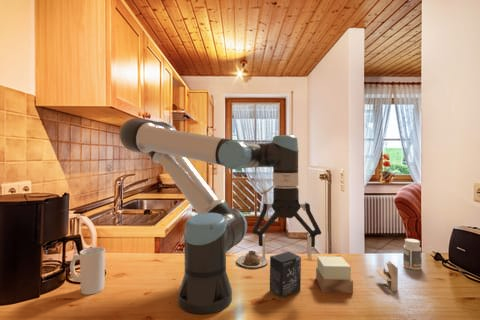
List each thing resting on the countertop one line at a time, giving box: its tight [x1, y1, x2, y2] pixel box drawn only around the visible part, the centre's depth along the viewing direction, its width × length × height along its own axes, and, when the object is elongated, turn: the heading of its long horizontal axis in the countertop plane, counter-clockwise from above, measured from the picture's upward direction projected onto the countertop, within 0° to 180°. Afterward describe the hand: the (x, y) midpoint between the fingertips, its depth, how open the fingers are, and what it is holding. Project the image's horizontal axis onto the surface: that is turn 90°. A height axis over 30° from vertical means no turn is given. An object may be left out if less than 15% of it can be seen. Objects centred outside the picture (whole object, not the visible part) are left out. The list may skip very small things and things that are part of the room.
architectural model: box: [376, 260, 399, 292], centre depth 85 cm, size 3×7×7 cm, turn 175°
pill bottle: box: [402, 238, 423, 271], centre depth 99 cm, size 6×6×10 cm
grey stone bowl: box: [236, 250, 269, 269], centre depth 103 cm, size 12×12×5 cm
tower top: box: [316, 255, 352, 280], centre depth 85 cm, size 8×8×4 cm
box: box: [269, 251, 302, 298], centre depth 81 cm, size 8×6×11 cm
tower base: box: [315, 267, 354, 294], centre depth 85 cm, size 9×9×4 cm
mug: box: [69, 246, 106, 296], centre depth 82 cm, size 10×7×12 cm, turn 91°
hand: (286, 257), depth 81 cm, fingers open, 13 cm apart
